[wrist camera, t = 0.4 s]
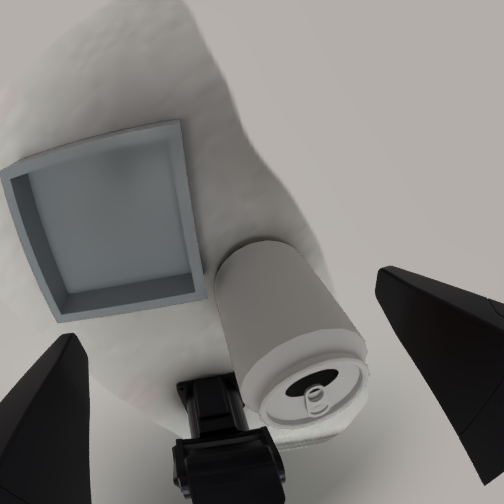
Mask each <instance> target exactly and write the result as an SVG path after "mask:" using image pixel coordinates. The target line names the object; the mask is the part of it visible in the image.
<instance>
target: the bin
mask: <svg viewBox="0 0 504 504" xmlns="http://www.w3.org/2000/svg"><path fill="white" fill-rule="evenodd" d="M0 177H1V181H2V185H3V189H4V192H5V196H6V199H7V203H8V206H9V209H10V212H11V216H12V219H13V222H14V225H15V228H16V230H17V233H18V236H19V239H20V242H21V244H22V247H23V249H24V252H25V255H26V257H27V260H28V262H29V264H30V267H31V269H32V272H33V274H34V276H35V278H36V281H37V283H38V285H39V287H40V289H41V292H42V294H43V296H44V298H45V300H46V302H47V304H48V306H49V308H50V310H51V312H52V314H53V316H54V318H55V320H56V322H57V323H63V322H71V321H77V320H84V319H91V318H98V317H104V316H111V315H117V314H123V313H129V312H135V311H141V310H147V309H153V308H159V307H165V306H170V305H176V304H182V303H187V302H193V301H198V300H203V299H208V297H207V292H206V287H205V281H204V276H203V270H202V265H201V259H200V254H199V248H198V242H197V236H196V230H195V224H194V218H193V211H192V205H191V198H190V192H189V185H188V178H187V171H186V164H185V156H184V148H183V141H182V133H181V124H180V119H177V120H171V121H165V122H159V123H154V124H148V125H143V126H138V127H134V128H129V129H124V130H120V131H115V132H111V133H107V134H103V135H99V136H95V137H91V138H87V139H84V140H80V141H77V142H73V143H70V144H66V145H63V146H60V147H56V148H53V149H50V150H47V151H44V152H41V153H38V154H35V155H32V156H29V157H26V158H24V159H21V160H18V161H17V162H15V163H13V164H11V165H9V166H8V167H6V168H4V169H2V170H1V171H0Z"/></svg>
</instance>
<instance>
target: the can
mask: <svg viewBox="0 0 504 504" xmlns="http://www.w3.org/2000/svg"><path fill="white" fill-rule="evenodd" d="M214 293H215V298H216V302H217V306H218V310H219V314H220V318H221V322H222V326H223V330H224V334H225V338H226V342H227V346H228V350H229V353H230V357H231V361H232V365H233V368H234V372H235V376H236V379H237V383H238V386H239V390H240V394H241V397H242V401H243V402H244V403H245V404H246V405H247V406H248V407H249V408H250V409H251V410H253V411H255V412H257V413H259V416H260V419H261V420H262V421H263V422H264V423H265V424H266V425H268V426H271V427H274V428H277V429H297V428H303V427H308V426H311V425H314V424H317V423H320V422H322V421H324V420H326V419H328V418H330V417H332V416H334V415H336V414H338V413H339V412H341V411H342V410H344V409H345V408H346V407H348V406H349V405H350V404H351V403H352V402H353V401H354V400H355V399H356V398H357V397H359V395H360V394H361V392H362V391H363V389H364V388H365V387H366V384H367V381H368V378H369V375H370V374H369V369H368V365H367V364H366V363H365V359H366V356H367V348H366V343H365V340H364V339H363V337H362V336H361V335H360V333H359V332H358V330H357V329H356V328H355V326H354V325H353V323H352V322H351V321H350V319H349V318H348V316H347V315H346V314H345V312H344V311H343V310H342V308H341V307H340V306H339V304H338V303H337V301H336V300H335V299H334V297H333V296H332V295H331V293H330V292H329V291H328V289H327V288H326V287H325V285H324V284H323V283H322V281H321V280H320V279H319V277H318V276H317V275H316V273H315V272H314V271H313V269H312V268H311V267H310V265H309V264H308V263H307V261H306V260H305V259H304V257H303V256H302V255H301V254H300V253H299V252H298V251H297V250H296V249H295V248H294V247H292V246H290V245H288V244H285V243H283V242H278V241H268V240H266V241H261V242H256V243H250V244H248V245H247V246H245V247H243V248H241V249H239V250H237V251H235V252H234V253H233V254H232V255H231V256H230V257H229V258H227V259H226V260H225V261H224V262H223V264H222V266H221V267H220V269H219V271H218V273H217V274H216V278H215V284H214Z"/></svg>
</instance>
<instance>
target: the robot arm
mask: <svg viewBox="0 0 504 504" xmlns="http://www.w3.org/2000/svg"><path fill="white" fill-rule="evenodd" d="M375 295H376V298H377V300H378V302H379V304H380V306H381V307H382V309H383V311H384V313H385V315H386V317H387V318H388V320H389V322H390V324H391V326H392V328H393V330H394V332H395V334H396V335H397V337H398V338H399V340H400V342H401V343H402V345H403V346H404V348H405V349H406V351H407V352H408V354H409V355H410V357H411V358H412V360H413V362H414V363H415V365H416V366H417V368H418V369H419V371H420V373H421V374H422V376H423V377H424V379H425V381H426V382H427V384H428V386H429V387H430V389H431V390H432V392H433V394H434V395H435V397H436V399H437V400H438V402H439V404H440V405H441V407H442V409H443V411H444V412H445V414H446V416H447V417H448V419H449V421H450V423H451V424H452V426H453V428H454V430H455V431H456V433H457V435H458V436H459V439H460V441H461V443H462V444H463V446H464V448H465V450H466V452H467V454H468V456H469V458H470V459H471V461H472V463H473V465H474V467H475V469H476V471H477V473H478V475H479V477H480V479H481V481H482V483H483V484H484V486H485V485H487V484H488V483H490V482H491V481H492V480H493V479H495V478H496V477H498V476H499V475H500V474H502V473H503V472H504V304H503V303H500V302H497V301H494V300H492V299H487V298H486V297H483V296H480V295H478V294H475V293H472V292H469V291H466V290H463V289H460V288H457V287H454V286H451V285H448V284H445V283H443V282H439V281H437V280H434V279H431V278H428V277H425V276H422V275H419V274H416V273H412V272H409V271H406V270H403V269H400V268H397V267H394V266H387V267H383V268H380V269H379V271H378V274H377V281H376V288H375ZM176 387H177V391H178V394H179V396H180V398H181V400H182V403H183V405H184V407H185V409H186V411H187V413H188V418H189V425H190V432H191V438H192V439H176V446H174V447H173V448H172V451H173V459H174V473H173V481H174V484H175V485H176V486H177V487H179V488H180V489H181V492H182V493H183V494H184V497H185V499H192V502H193V504H284V502H285V494H284V491H283V487H282V483H284V482H285V470H284V466H283V462H282V460H281V457H280V454H279V452H278V450H277V448H276V446H275V444H274V442H273V439H272V437H271V435H270V433H269V431H268V429H267V427H266V426H264V427H261V428H258V429H253V430H249V427H248V423H247V420H246V416H245V413H244V409H243V408H244V407H245V403H244V402H243V401H242V397H241V394H240V390H239V386H238V383H237V379H236V376H235V373H232V374H228V375H223V376H218V377H212V378H207V379H202V380H196V381H190V382H184V383H179V384H177V385H176ZM89 420H90V397H89V370H88V356H87V354H86V352H85V350H84V348H83V346H82V344H81V343H80V341H79V339H78V337H77V336H76V335H75V334H74V333H68V334H62V335H61V336H60V337H59V338H58V339H57V340H56V341H55V342H54V343H53V344H52V345H51V346H50V347H49V348H48V349H47V350H46V351H45V352H44V354H43V355H42V356H41V357H40V358H39V359H38V360H37V361H36V362H35V363H34V365H33V366H32V367H31V368H30V369H29V370H28V371H27V372H26V373H25V374H24V376H23V377H22V378H21V379H20V380H19V381H18V382H17V384H16V385H15V386H14V387H13V388H12V389H11V391H10V392H9V393H8V394H7V395H6V397H5V398H4V399H3V400H2V401H1V402H0V504H92V503H91V491H90V490H91V489H90V469H89Z"/></svg>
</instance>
